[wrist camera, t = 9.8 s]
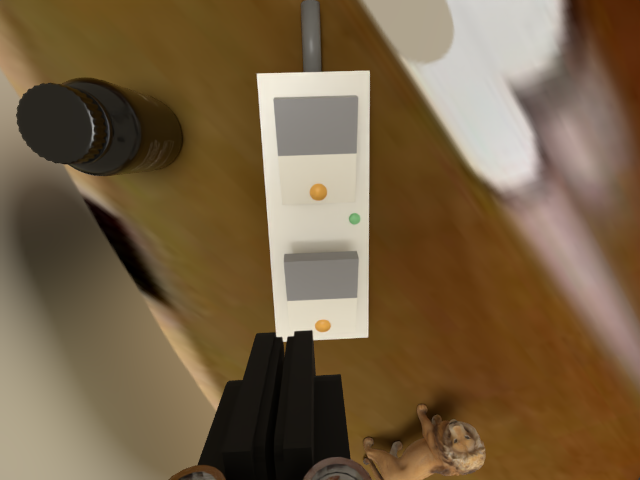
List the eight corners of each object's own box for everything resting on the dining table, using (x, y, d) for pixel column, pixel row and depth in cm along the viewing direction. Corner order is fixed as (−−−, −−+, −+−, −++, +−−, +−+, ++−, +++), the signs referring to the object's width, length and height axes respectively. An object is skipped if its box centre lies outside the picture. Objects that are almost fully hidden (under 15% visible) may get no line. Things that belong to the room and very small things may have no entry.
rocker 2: (355, 247, 28) (359, 259, 27) (353, 318, 32) (355, 332, 31) (284, 250, 28) (283, 263, 26) (290, 321, 32) (290, 336, 30)
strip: (360, 10, 30) (372, -23, 24) (360, 313, 38) (369, 341, 32) (259, 12, 30) (248, -20, 24) (280, 317, 38) (276, 346, 32)
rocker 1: (354, 94, 25) (358, 97, 24) (352, 194, 29) (355, 202, 27) (275, 96, 25) (273, 99, 23) (283, 196, 29) (281, 205, 27)
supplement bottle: (165, 85, 31) (81, 47, 19) (195, 158, 33) (134, 162, 21) (97, 109, 31) (-26, 85, 20) (129, 179, 33) (34, 195, 22)
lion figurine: (438, 377, 41) (474, 439, 32) (465, 402, 42) (506, 469, 33) (350, 448, 43) (361, 524, 34) (377, 470, 44) (395, 549, 35)
